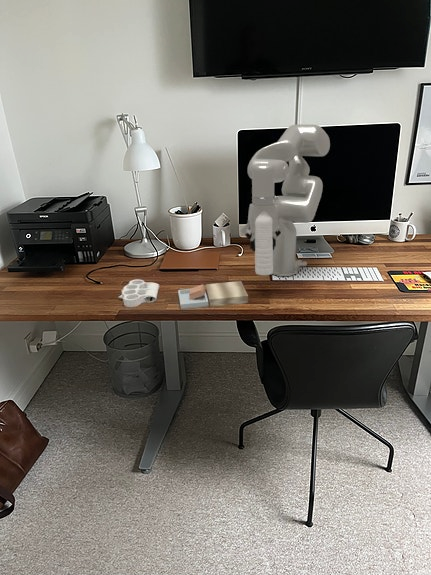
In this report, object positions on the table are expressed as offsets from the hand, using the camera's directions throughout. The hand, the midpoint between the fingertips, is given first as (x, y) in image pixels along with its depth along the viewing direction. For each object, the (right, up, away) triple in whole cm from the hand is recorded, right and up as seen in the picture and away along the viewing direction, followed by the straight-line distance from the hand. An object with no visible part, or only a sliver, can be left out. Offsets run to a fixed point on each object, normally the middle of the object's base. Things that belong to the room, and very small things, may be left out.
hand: (262, 249), depth 162 cm
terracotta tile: (-23, -17, +6) cm, 29 cm away
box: (-25, -19, +5) cm, 32 cm away
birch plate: (-13, -17, +6) cm, 23 cm away
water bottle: (+1, -8, +4) cm, 9 cm away
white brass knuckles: (-46, -18, +10) cm, 51 cm away
